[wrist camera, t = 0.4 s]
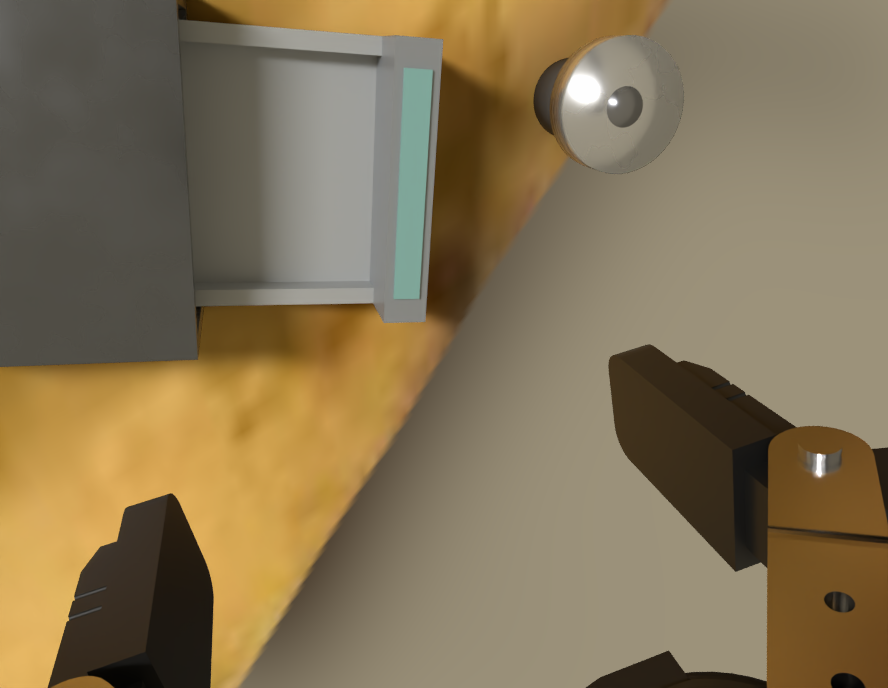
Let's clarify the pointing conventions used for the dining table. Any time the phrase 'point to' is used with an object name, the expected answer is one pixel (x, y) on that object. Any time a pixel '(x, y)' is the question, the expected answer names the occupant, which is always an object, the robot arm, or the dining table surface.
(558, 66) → the capsule
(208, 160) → the tray
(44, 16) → the housing
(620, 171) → the disc
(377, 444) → the dining table surface
